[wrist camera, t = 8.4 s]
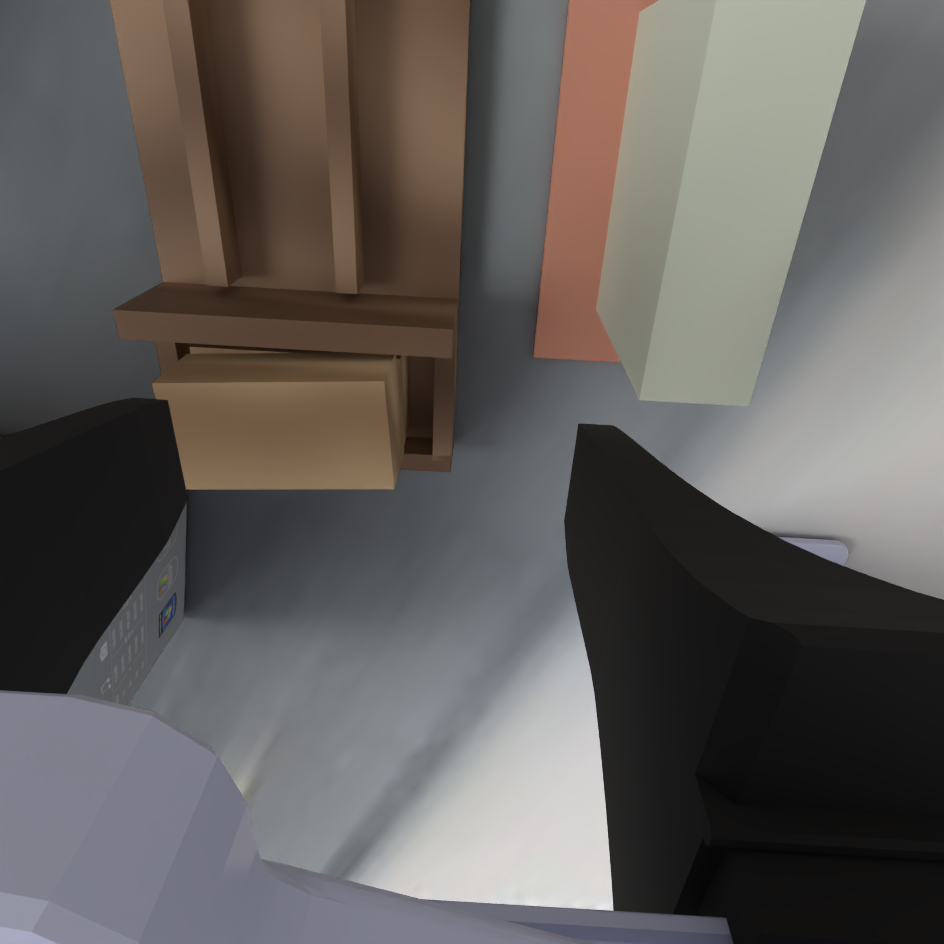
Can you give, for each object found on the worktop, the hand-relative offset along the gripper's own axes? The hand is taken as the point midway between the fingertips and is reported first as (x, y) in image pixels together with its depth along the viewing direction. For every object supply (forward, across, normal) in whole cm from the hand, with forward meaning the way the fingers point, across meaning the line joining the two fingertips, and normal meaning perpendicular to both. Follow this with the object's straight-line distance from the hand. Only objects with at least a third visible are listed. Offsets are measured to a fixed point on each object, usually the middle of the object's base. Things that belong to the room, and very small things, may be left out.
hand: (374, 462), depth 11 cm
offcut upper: (+7, +4, +2) cm, 9 cm away
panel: (+10, -6, -4) cm, 13 cm away
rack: (+10, +4, -2) cm, 11 cm away
